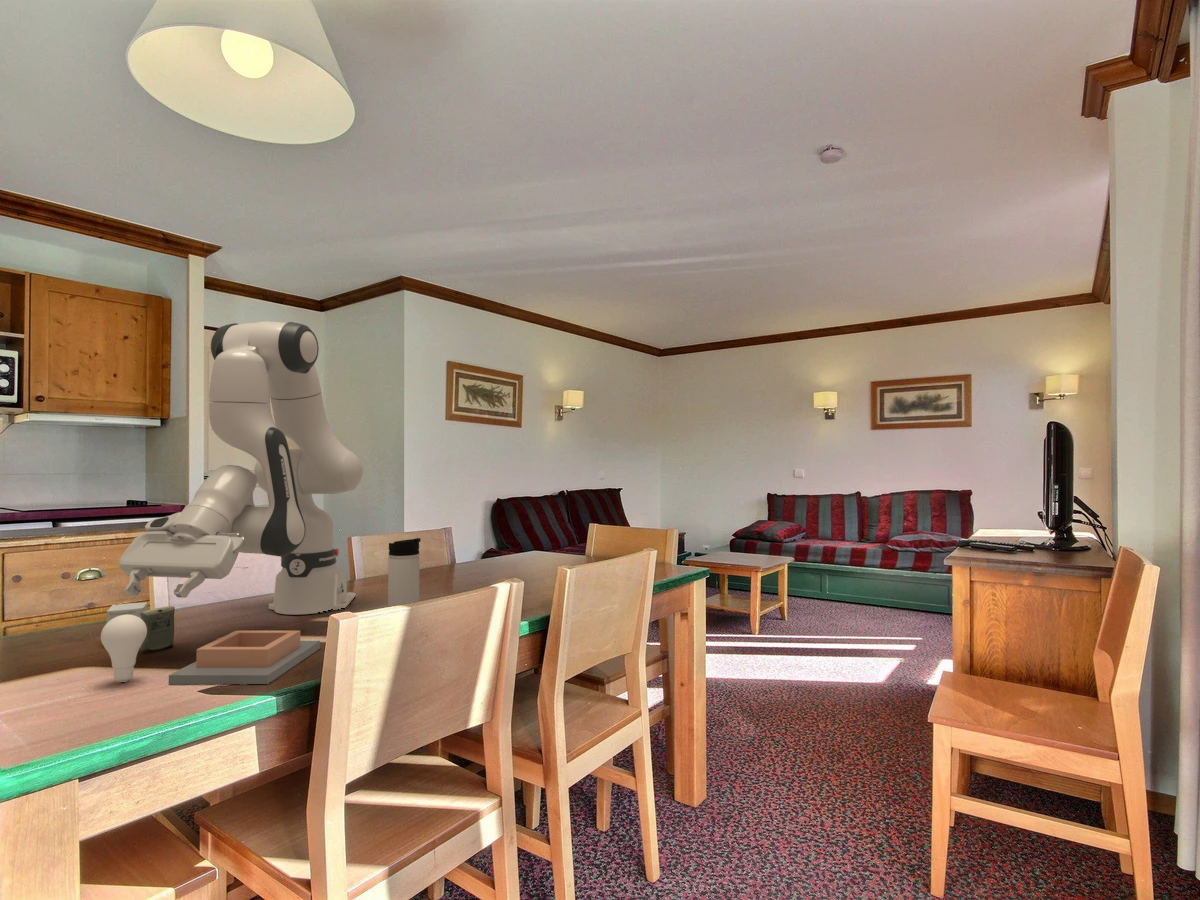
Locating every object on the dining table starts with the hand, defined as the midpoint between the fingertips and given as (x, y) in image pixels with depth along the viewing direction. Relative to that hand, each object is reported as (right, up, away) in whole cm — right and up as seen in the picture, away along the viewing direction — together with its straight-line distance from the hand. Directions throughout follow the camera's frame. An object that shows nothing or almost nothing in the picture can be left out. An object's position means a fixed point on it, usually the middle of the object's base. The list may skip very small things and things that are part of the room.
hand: (154, 594), depth 112 cm
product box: (-17, -13, +17) cm, 27 cm away
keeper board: (+15, -13, +3) cm, 20 cm away
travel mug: (+36, -14, +24) cm, 45 cm away
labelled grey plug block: (-8, -13, +12) cm, 20 cm away
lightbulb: (-1, -13, -6) cm, 15 cm away
